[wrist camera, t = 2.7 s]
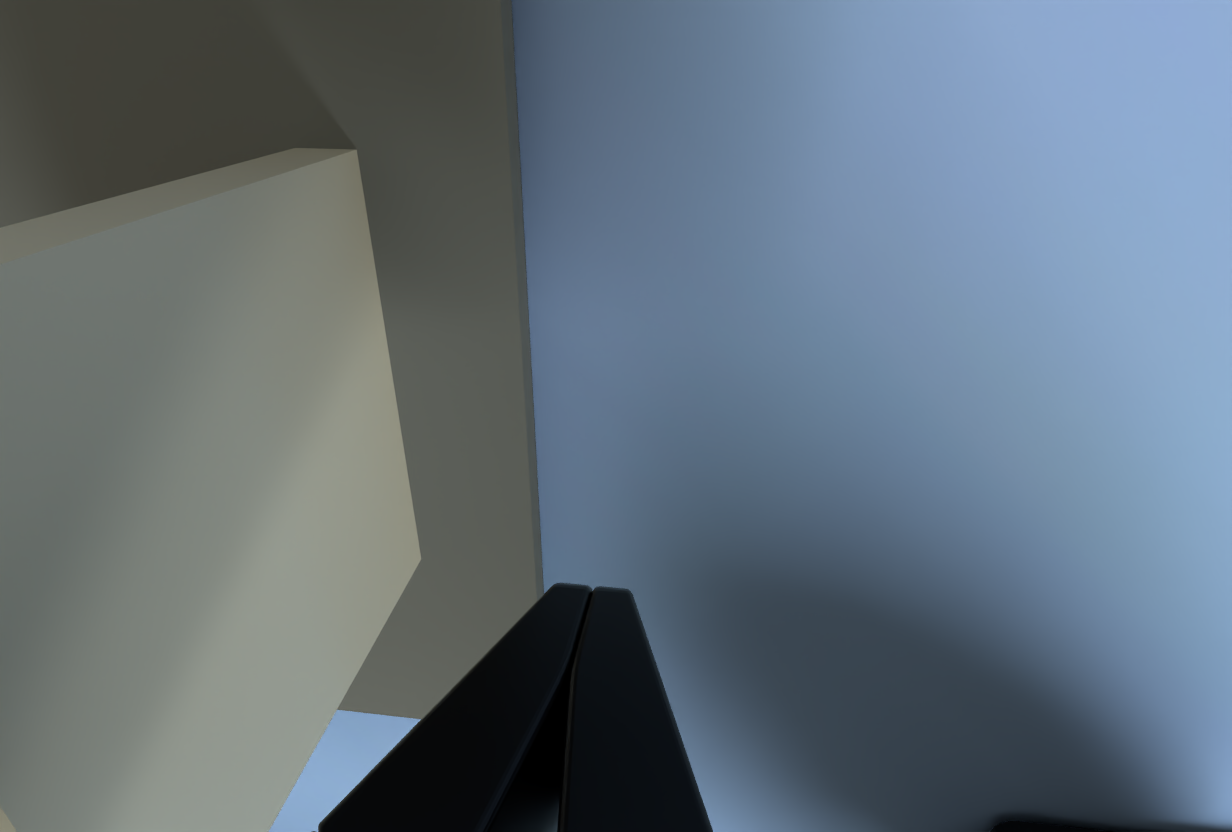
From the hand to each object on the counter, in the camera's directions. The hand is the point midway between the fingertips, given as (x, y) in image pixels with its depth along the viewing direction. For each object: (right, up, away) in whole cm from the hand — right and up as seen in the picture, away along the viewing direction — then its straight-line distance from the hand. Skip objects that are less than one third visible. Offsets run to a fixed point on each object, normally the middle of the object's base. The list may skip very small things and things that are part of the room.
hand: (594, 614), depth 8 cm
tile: (-4, +3, +5) cm, 7 cm away
